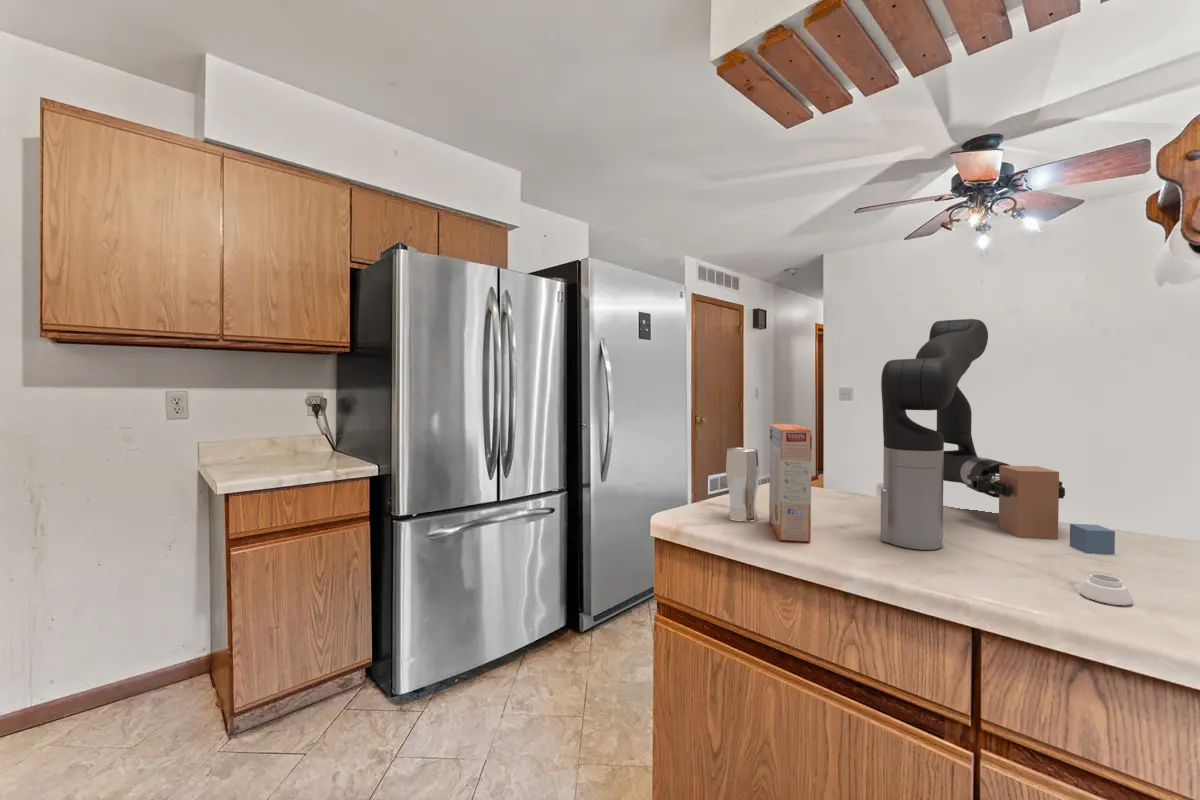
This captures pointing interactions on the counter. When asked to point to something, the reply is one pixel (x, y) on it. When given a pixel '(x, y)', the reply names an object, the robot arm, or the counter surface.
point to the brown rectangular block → (1029, 502)
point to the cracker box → (790, 482)
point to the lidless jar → (1106, 590)
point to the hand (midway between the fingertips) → (1035, 492)
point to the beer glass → (742, 482)
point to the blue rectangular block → (1092, 538)
